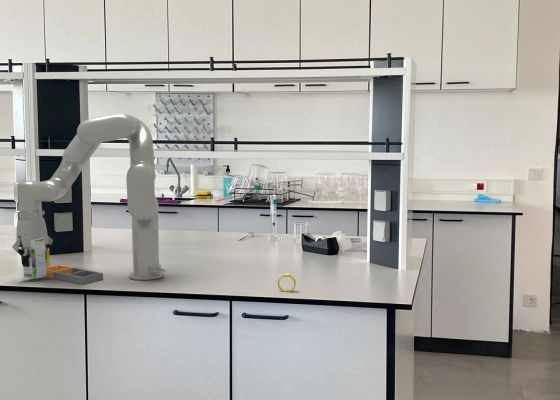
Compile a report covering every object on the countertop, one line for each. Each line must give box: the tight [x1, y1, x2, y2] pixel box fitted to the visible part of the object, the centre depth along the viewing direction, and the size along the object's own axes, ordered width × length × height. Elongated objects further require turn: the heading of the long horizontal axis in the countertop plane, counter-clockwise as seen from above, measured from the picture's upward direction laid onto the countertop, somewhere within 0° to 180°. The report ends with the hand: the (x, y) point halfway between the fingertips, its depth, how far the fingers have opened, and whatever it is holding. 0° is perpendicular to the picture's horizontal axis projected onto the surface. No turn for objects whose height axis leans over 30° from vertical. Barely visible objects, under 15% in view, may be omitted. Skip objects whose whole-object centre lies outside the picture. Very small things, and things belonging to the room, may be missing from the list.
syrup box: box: [22, 237, 47, 280], centre depth 224 cm, size 6×6×14 cm
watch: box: [277, 272, 297, 293], centre depth 207 cm, size 6×3×6 cm, turn 79°
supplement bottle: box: [46, 247, 51, 267], centre depth 243 cm, size 6×6×10 cm
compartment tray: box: [43, 264, 104, 285], centre depth 228 cm, size 26×9×2 cm, turn 54°
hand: (34, 264), depth 224 cm, fingers closed on syrup box, 6 cm apart
